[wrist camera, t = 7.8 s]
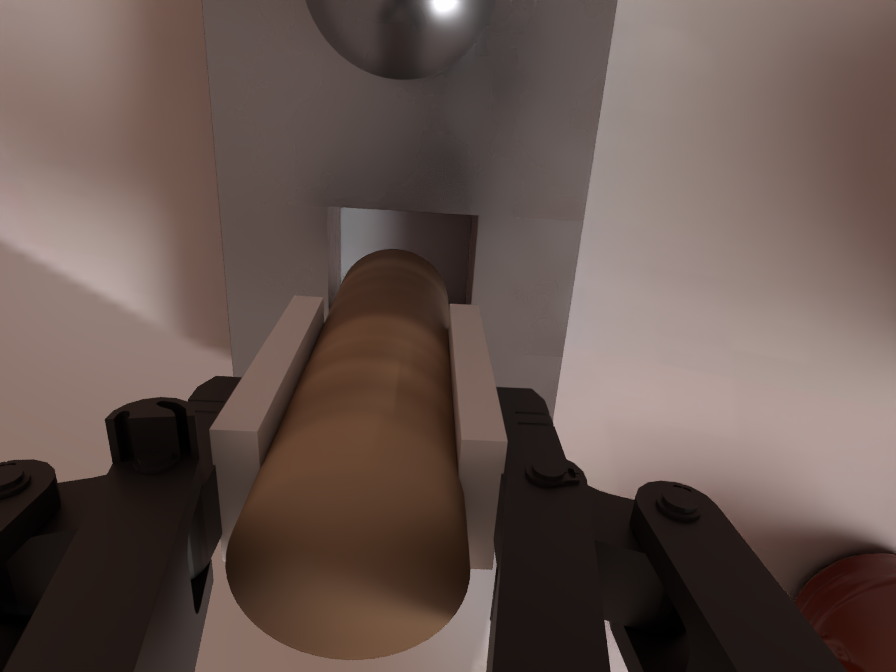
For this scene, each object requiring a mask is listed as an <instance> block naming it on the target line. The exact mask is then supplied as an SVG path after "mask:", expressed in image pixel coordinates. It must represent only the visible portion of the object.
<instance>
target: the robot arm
mask: <svg viewBox="0 0 896 672" xmlns="http://www.w3.org/2000/svg"><path fill="white" fill-rule="evenodd" d="M323 325H324V297H310V296H294V297H293V298H292V300H291V302H290V303H289V305H288V306H287V308H286V309H285V311H284V313H283V314H282V316H281V317H280V319H279V321H278V322H277V324H276V325H275V327H274V328H273V330H272V332H271V333H270V335H269V336H268V338H267V339H266V341H265V343H264V344H263V346H262V347H261V349H260V350H259V352H258V354H257V355H256V357H255V358H254V360H253V361H252V363H251V365H250V366H249V368H248V369H247V371H246V372H245V374H244V376H243V377H226V376H215V377H213V378H212V379H210V380H208V381H207V382H205V383H203V384H202V385H200V386H198V387H197V388H196V390H195V391H194V392H193V394H192V395H191V396H190V398H189V399H188V402H187V401H184V400H180V399H177V398H166V397H158V398H149V399H142V400H139V401H136V402H132V403H129V404H126V405H124V406H122V407H120V408H118V409H116V410H114V411H113V412H112V413H111V414H110V415H109V416H108V417H107V418H106V419H105V423H106V429H107V434H108V440H109V445H110V451H111V456H112V462H113V464H112V466H111V468H110V470H109V472H108V473H107V475H103V476H98V477H94V478H88V479H81V480H75V481H67V482H61V483H57V479H56V474H55V470H54V468H53V467H52V466H50V465H49V464H48V463H46V462H42V461H38V460H34V459H33V460H11V461H7V462H1V463H0V672H194V671H195V666H196V661H197V657H198V651H199V646H200V642H201V637H202V633H203V627H204V622H205V618H206V613H207V608H208V604H209V599H210V594H211V589H212V585H213V569H212V560H211V557H212V555H213V553H214V550H215V548H216V546H217V544H218V542H219V540H220V539H221V548H222V557H223V562H226V551H227V546H228V541H229V539H230V536H231V534H232V531H233V529H234V526H235V524H236V522H237V520H238V517H239V515H240V513H241V511H242V508H243V506H244V504H245V502H246V499H247V497H248V495H249V492H250V490H251V488H252V486H253V483H254V481H255V479H256V477H257V474H258V472H259V470H260V468H261V466H262V463H263V461H264V459H265V457H266V454H267V452H268V450H269V447H270V445H271V443H272V441H273V438H274V436H275V434H276V432H277V429H278V427H279V425H280V423H281V420H282V418H283V416H284V413H285V411H286V409H287V407H288V404H289V402H290V400H291V398H292V395H293V393H294V391H295V388H296V386H297V384H298V382H299V379H300V377H301V375H302V373H303V370H304V368H305V366H306V364H307V361H308V359H309V357H310V354H311V352H312V350H313V348H314V345H315V343H316V341H317V339H318V336H319V334H320V332H321V330H322V327H323ZM448 339H449V353H450V367H451V381H452V394H453V408H454V422H455V436H456V450H457V464H458V478H459V480H460V482H461V485H462V489H463V492H464V499H465V508H466V520H467V532H468V544H469V556H470V569H491V570H492V568H493V559H494V551H495V555H496V563H497V567H496V575H495V583H494V591H493V599H492V607H491V615H490V620H491V626H490V637H489V648H488V659H487V670H486V672H611V671H610V663H609V655H608V647H607V639H606V631H605V623H604V620H607V621H609V623H610V628H611V631H612V633H613V636H614V638H615V641H616V643H617V645H618V648H619V650H620V653H621V655H622V658H623V660H624V662H625V665H626V667H627V670H628V672H847V670H846V669H845V668H844V666H843V665H842V664H841V663H840V661H839V660H838V659H837V657H836V656H835V655H834V654H833V652H832V651H831V650H830V649H829V647H828V646H827V645H826V643H825V642H824V641H823V640H822V638H821V637H820V636H819V635H818V633H817V632H816V631H815V629H814V628H813V627H812V626H811V624H810V623H809V622H808V621H807V619H806V618H805V617H804V615H803V614H802V613H801V612H800V610H799V609H798V608H797V607H796V605H795V604H794V603H793V601H792V600H791V599H790V598H789V596H788V595H787V594H786V592H785V591H784V590H783V589H782V587H781V586H780V585H779V584H778V582H777V581H776V580H775V578H774V577H773V576H772V575H771V573H770V572H769V571H768V570H767V568H766V567H765V566H764V564H763V563H762V562H761V561H760V559H759V558H758V557H757V556H756V554H755V553H754V552H753V550H752V549H751V548H750V547H749V545H748V544H747V543H746V542H745V540H744V539H743V538H742V536H741V535H740V534H739V533H738V531H737V530H736V529H735V528H734V526H733V525H732V524H731V522H730V521H729V520H728V519H727V517H726V516H725V515H724V513H723V512H722V511H721V510H720V508H719V507H718V506H717V505H716V504H715V503H714V502H713V501H712V500H711V499H710V498H709V497H708V496H706V495H705V494H703V493H701V492H699V491H698V490H696V489H694V488H692V487H690V486H687V485H683V484H681V483H677V482H668V481H655V482H648V483H646V484H645V485H643V486H641V487H640V488H639V489H638V491H637V494H636V497H635V500H632V499H628V498H624V497H620V496H616V495H612V494H608V493H605V492H602V491H599V490H597V489H595V488H592V487H590V486H588V484H587V479H586V477H585V475H584V472H583V471H582V470H581V469H580V468H579V467H578V466H577V465H575V464H574V463H573V462H571V461H569V460H567V459H566V457H565V455H564V452H563V449H562V446H561V443H560V441H559V438H558V435H557V432H556V430H555V427H554V426H553V421H552V418H551V416H550V415H549V414H550V413H549V410H548V407H547V405H546V402H545V400H544V399H543V398H542V397H541V396H540V395H539V394H537V393H536V392H535V391H534V390H533V389H532V388H511V387H496V385H495V380H494V376H493V371H492V366H491V362H490V357H489V352H488V348H487V343H486V338H485V334H484V329H483V325H482V320H481V315H480V311H479V306H478V305H466V304H450V308H449V322H448Z"/></svg>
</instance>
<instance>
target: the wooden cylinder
mask: <svg viewBox="0 0 896 672" xmlns="http://www.w3.org/2000/svg"><path fill="white" fill-rule="evenodd" d="M448 322H449V305H448V295H447V290H446V286H445V284H444V281H443V279H442V277H441V276H440V274H439V273H438V271H437V270H436V269H435V268H434V267H433V266H432V265H431V264H430V263H429V262H428V261H427V260H425V259H424V258H422V257H420V256H419V255H417V254H414V253H412V252H408V251H405V250H398V249H387V250H380V251H376V252H373V253H371V254H368V255H366V256H365V257H363V258H361V259H360V260H359V261H357V262H356V263H355V264H354V265H353V266H352V267H351V268H350V270H349V271H348V272H347V274H346V276H345V277H344V279H343V282H342V284H341V286H340V289H339V291H338V293H337V295H336V298H335V300H334V302H333V304H332V307H331V309H330V311H329V313H328V316H327V318H326V320H325V323H324V325H323V327H322V330H321V332H320V334H319V336H318V339H317V341H316V343H315V345H314V348H313V350H312V352H311V354H310V357H309V359H308V361H307V364H306V366H305V368H304V370H303V373H302V375H301V377H300V379H299V382H298V384H297V386H296V388H295V391H294V393H293V395H292V398H291V400H290V402H289V404H288V407H287V409H286V411H285V413H284V416H283V418H282V420H281V423H280V425H279V427H278V429H277V432H276V434H275V436H274V438H273V441H272V443H271V445H270V447H269V450H268V452H267V454H266V457H265V459H264V461H263V463H262V466H261V468H260V470H259V472H258V474H257V477H256V479H255V481H254V483H253V486H252V488H251V490H250V492H249V495H248V497H247V499H246V502H245V504H244V506H243V508H242V511H241V513H240V515H239V517H238V520H237V522H236V524H235V526H234V529H233V531H232V534H231V536H230V539H229V541H228V546H227V551H226V566H225V567H226V573H227V580H228V583H229V586H230V589H231V592H232V594H233V596H234V598H235V600H236V602H237V603H238V605H239V606H240V608H241V609H242V611H243V612H244V613H245V615H246V616H247V617H248V618H249V619H250V620H251V621H252V622H253V623H254V624H255V625H256V626H257V627H259V628H260V629H261V630H262V631H263V632H265V633H266V634H268V635H269V636H271V637H272V638H274V639H275V640H277V641H279V642H281V643H283V644H285V645H287V646H289V647H291V648H294V649H296V650H299V651H301V652H305V653H309V654H312V655H315V656H320V657H325V658H331V659H342V660H363V659H374V658H379V657H385V656H390V655H393V654H396V653H399V652H402V651H405V650H408V649H410V648H412V647H415V646H417V645H419V644H420V643H422V642H424V641H426V640H428V639H429V638H430V637H432V636H433V635H435V634H436V633H437V632H439V631H440V630H441V629H442V628H443V627H444V626H445V625H446V624H447V623H448V622H449V621H450V620H451V619H452V617H453V616H454V615H455V614H456V612H457V611H458V609H459V607H460V605H461V604H462V602H463V600H464V597H465V595H466V593H467V589H468V585H469V580H470V556H469V544H468V532H467V520H466V508H465V499H464V492H463V489H462V485H461V482H460V480H459V478H458V464H457V450H456V436H455V422H454V408H453V394H452V381H451V367H450V353H449V339H448Z"/></svg>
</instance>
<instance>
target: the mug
mask: <svg viewBox="0 0 896 672" xmlns="http://www.w3.org/2000/svg"><path fill="white" fill-rule="evenodd" d="M794 604H795V605H796V607H797V608H798V609H799V610H800V612H801V613H802V614H803V615H804V617H805V618H806V619H807V621H808V622H809V623H810V624H811V626H812V627H813V628H814V629H815V631H816V632H817V633H818V635H819V636H820V637H821V638H822V640H823V641H824V642H825V643H826V645H827V646H828V647H829V649H830V650H831V651H832V652H833V654H834V655H835V656H836V657H837V659H838V660H839V661H840V663H841V664H842V665H843V666H844V668H845V669H846V670H847V672H896V555H894V554H887V553H870V554H862V555H856V556H851V557H847V558H844V559H841V560H839V561H836V562H834V563H832V564H830V565H828V566H827V567H825V568H823V569H822V570H820V571H819V572H817V573H816V574H815V575H814V576H812V577H811V578H810V579H809V580H808V581H807V583H806V584H805V585H804V587H803V588H802V590H801V591H800V593H799V594H798V596H797V598H796V600H795V602H794Z"/></svg>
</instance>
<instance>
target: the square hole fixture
mask: <svg viewBox="0 0 896 672" xmlns="http://www.w3.org/2000/svg"><path fill="white" fill-rule="evenodd" d="M616 6H617V0H202V7H203V19H204V31H205V43H206V55H207V67H208V79H209V90H210V102H211V114H212V126H213V138H214V150H215V162H216V174H217V186H218V197H219V209H220V221H221V233H222V245H223V257H224V269H225V281H226V293H227V304H228V316H229V328H230V340H231V352H232V364H233V376H234V377H243V376H244V374H245V372H246V371H247V369H248V368H249V366H250V365H251V363H252V361H253V360H254V358H255V357H256V355H257V354H258V352H259V350H260V349H261V347H262V346H263V344H264V343H265V341H266V339H267V338H268V336H269V335H270V333H271V332H272V330H273V328H274V327H275V325H276V324H277V322H278V321H279V319H280V317H281V316H282V314H283V313H284V311H285V309H286V308H287V306H288V305H289V303H290V302H291V300H292V298H293V297H294V296H310V297H324V323H325V320H326V318H327V316H328V313H329V311H330V309H331V307H332V304H333V302H334V300H335V298H336V295H337V293H338V291H339V289H340V286H341V243H340V207H347V208H364V209H381V210H397V211H414V212H430V213H447V214H463V215H472V224H471V236H470V249H469V261H468V273H467V286H466V298H465V304H466V305H478V306H479V311H480V315H481V320H482V325H483V329H484V334H485V338H486V343H487V348H488V352H489V357H490V362H491V366H492V371H493V376H494V380H495V385H496V387H511V388H532V389H533V390H534V391H535V392H536V393H537V394H539V395H540V396H541V397H542V398H543V399H544V400H545V402H546V405H547V407H548V410H549V413H550V414H549V415H550V416H551V418H552V421H553V415H554V409H555V402H556V396H557V389H558V383H559V376H560V370H561V363H562V357H563V350H564V344H565V337H566V331H567V324H568V318H569V311H570V305H571V298H572V292H573V285H574V279H575V272H576V266H577V259H578V253H579V246H580V240H581V233H582V227H583V220H584V214H585V207H586V201H587V194H588V188H589V181H590V175H591V168H592V162H593V155H594V149H595V142H596V136H597V129H598V123H599V116H600V110H601V103H602V97H603V90H604V84H605V77H606V71H607V64H608V58H609V51H610V45H611V38H612V32H613V25H614V19H615V12H616Z"/></svg>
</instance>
